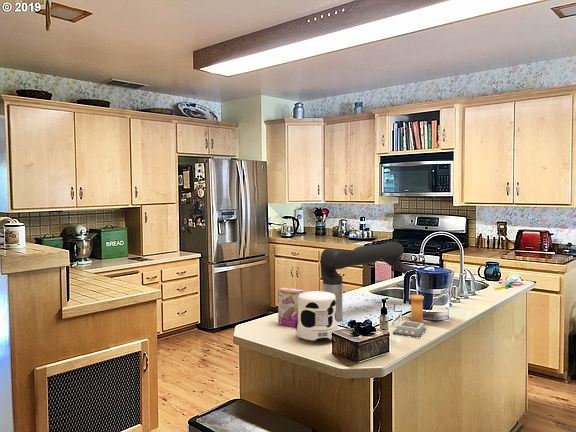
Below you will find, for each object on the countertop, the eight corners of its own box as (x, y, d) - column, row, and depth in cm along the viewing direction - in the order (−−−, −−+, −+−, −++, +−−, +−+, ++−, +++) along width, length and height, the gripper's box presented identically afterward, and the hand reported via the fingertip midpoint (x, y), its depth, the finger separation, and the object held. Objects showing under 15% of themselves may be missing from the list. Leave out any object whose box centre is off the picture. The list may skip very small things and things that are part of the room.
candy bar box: (277, 325, 212) (277, 289, 211) (283, 322, 217) (283, 287, 215) (299, 328, 207) (299, 292, 205) (304, 325, 211) (304, 289, 210)
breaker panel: (392, 334, 199) (392, 327, 198) (401, 326, 209) (401, 320, 209) (418, 338, 193) (418, 331, 193) (426, 330, 203) (426, 323, 203)
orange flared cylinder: (408, 326, 209) (408, 296, 208) (411, 323, 214) (412, 293, 214) (421, 328, 206) (422, 298, 205) (425, 324, 211) (425, 295, 211)
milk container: (312, 329, 206) (312, 288, 205) (346, 337, 195) (346, 294, 194) (287, 339, 193) (287, 296, 191) (321, 348, 182) (321, 302, 180)
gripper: (415, 289, 234) (405, 295, 220) (445, 292, 226) (437, 299, 212) (415, 304, 234) (405, 311, 220) (444, 307, 227) (436, 315, 213)
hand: (421, 305), depth 216 cm, fingers open, 8 cm apart
